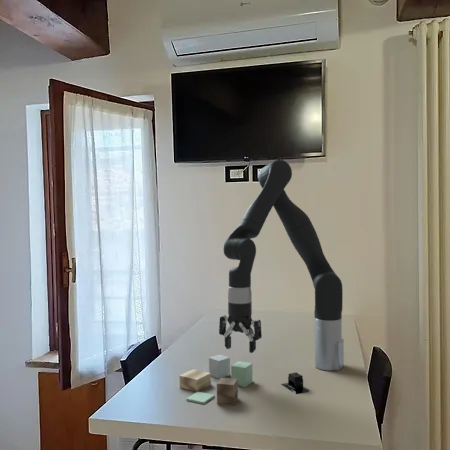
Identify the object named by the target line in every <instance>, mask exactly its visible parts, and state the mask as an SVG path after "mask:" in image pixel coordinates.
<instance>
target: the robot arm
mask: <svg viewBox="0 0 450 450" xmlns="http://www.w3.org/2000/svg"><path fill="white" fill-rule="evenodd" d="M292 171H293V170H292V167H291V166H290V164H289V162H287V161H286V160H284V159H275V160H274V161H272V162H270V163H267V165H265V166H264V167H262V168H261V169H259V171H258V176H257V179H258V182H259V185H260V187H261V191H260V192H259V193H258V194H257V196H256V198H255V199H254V200H253V201H252V202H251V203H250V205H249V207H248V208H247V209H246V212H245V213H244V214H243V215H244V216H243V217H242V219H241V221H240V223H239V225H237V226H236V228H235V229H234V230H233V231H232V232H231V234H230V235H229V236H227V239H226V240H225V242H224V244H223V254H224V256H225V257H226V258H227V259H229V260H232V261H233V260H235V261H239V263H238V266H236V267H232V268H230V269H229V271H228V291H227V313H228V316H227V315H225V314H224V315H222V316H220V317H219V328H218V334H219V335H220V336H223V337H224V347H225V349H226V350H229V349H231V348H232V334H233V333H235V332H236V333H237V332H239V333H242V334H243V333H244V335H245V336H246V337H247V338H248V340H249V344H248V345H249V347H248V350H249V351H248V352H249V353H250V354H252V353H254V352H255V351H256V350H257V349H256V348H257V341H258V340H260V339H261V338H263V337H262V321H261V320H260V319H257V320H255V319H254V320H253V318H252V314H253V312H252V310H253V309H252V307H253V306H252V303H253V302H252V275H251V274H252V271H253V267H254V262H255V259H256V255H257V246H256V244H255V242H254V241H253V239H255V238H257V237H258V236H259V235H260V232H261V230H262V228H263V227H264V224H265V223H266V221H267V218H268V215H269V214H270V213H271V211H272V208H274V210H275V212H276V214H277V215H278V217H279V220H280V221H281V223H282V226H283V228H284V231H286V234H287V236H288V238H289V240H290V242H291V244H292V245H293V247H294V249H295V251H296V252H297V253H298V255H299V256H300V258H301V259H302V261H303V262H304V264H305V266H306V268H307V270H308V273H309V276H310V278H311V281H312V284H313V285H312V286H313V288H314V314H313V315H314V366H315V368H316V369H319V370H321V371H322V370H323V371H328V372H329V371H330V372H331V371H337V372H338V371H340V370H341V369H343V367H344V366H345V362H344V361H345V359H344V358H345V356H344V355H345V353H344V351H345V349H344V348H345V347H344V344H345V343H344V340H345V339H344V338H342V337H343V336H342V335H343V331H342V330H343V328H342V327H343V326H342V325H343V324H342V323H343V322H342V312H343V295H344V294H343V283H342V280H341V278H340V277H339V276H338V275H337V274H336V272H335V271H334V269H333V268H332V266H331V265H330V263H329V261H328V260H327V257H326V256H325V254H324V252H323V247H322V245H321V241H320V239H319V236H318V233H317V231H316V229H315V226H314V225H313V223H312V221H311V218H309V215H308V214H306V212H305V211H303V209H301V208H300V207H299V206H298V205H296V204H295V203H294V202H293V201H292V200H291V199H290V197H289V196H288V194H287V192H286V190H285V188H286V187H287V185H288V184H289V183H290V182H291V179H292V175H293V172H292ZM227 323H228V324H229V326H228V328H227ZM253 328H254V329H253Z"/></svg>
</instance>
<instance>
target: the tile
mask: <svg viewBox="0 0 450 450" xmlns="http://www.w3.org/2000/svg"><path fill="white" fill-rule="evenodd" d="M213 398H215V394H212V393H207V392H201V391H198V392H196V391H195V393H193V394H191V395H190V396H188V397H187V398H186V401H187V402H192V403H195V404H196V403H197V404H200V405H205V404H207V403H208V402H209V401H211V400H212V399H213Z"/></svg>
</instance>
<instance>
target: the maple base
mask: <svg viewBox="0 0 450 450" xmlns="http://www.w3.org/2000/svg"><path fill="white" fill-rule="evenodd" d="M211 378H212V376H211V373H209V371H203V370H199V369H195V368H193V369H191V370H189V371H186V372H184V373H182V374H180V375H179V388H181V389H185V390H188V391H193V392H195V393H196V392H201V390H203V389H205V388H207V387H210V386H211V385H212V381H211Z"/></svg>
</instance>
